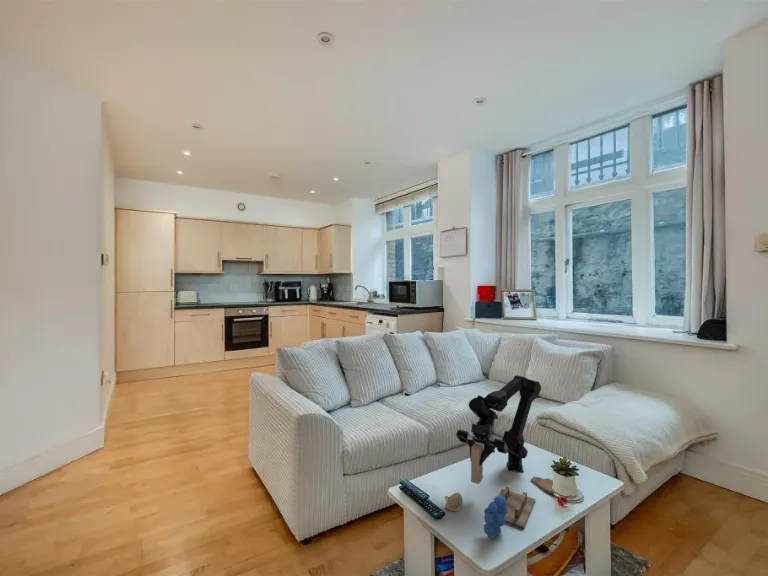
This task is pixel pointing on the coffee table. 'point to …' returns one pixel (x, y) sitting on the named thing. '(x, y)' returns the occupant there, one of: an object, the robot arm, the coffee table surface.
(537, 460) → the coffee table surface
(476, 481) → the brown rectangular box
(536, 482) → the pottery shard
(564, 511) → the coffee table surface
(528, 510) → the walnut rack
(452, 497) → the decorative ornament
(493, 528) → the grapes
